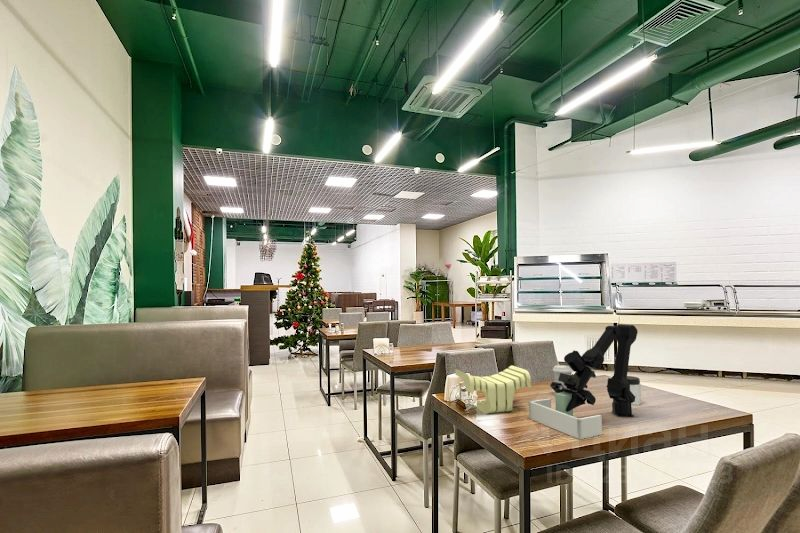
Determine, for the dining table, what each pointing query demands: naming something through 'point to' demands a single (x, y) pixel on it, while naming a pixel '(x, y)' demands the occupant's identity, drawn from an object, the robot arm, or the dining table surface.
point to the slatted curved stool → (497, 388)
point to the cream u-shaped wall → (565, 420)
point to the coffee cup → (561, 369)
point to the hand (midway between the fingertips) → (561, 409)
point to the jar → (635, 389)
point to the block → (563, 402)
